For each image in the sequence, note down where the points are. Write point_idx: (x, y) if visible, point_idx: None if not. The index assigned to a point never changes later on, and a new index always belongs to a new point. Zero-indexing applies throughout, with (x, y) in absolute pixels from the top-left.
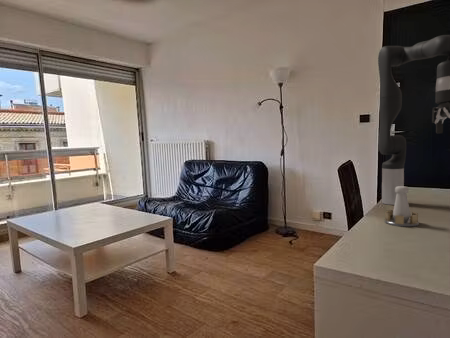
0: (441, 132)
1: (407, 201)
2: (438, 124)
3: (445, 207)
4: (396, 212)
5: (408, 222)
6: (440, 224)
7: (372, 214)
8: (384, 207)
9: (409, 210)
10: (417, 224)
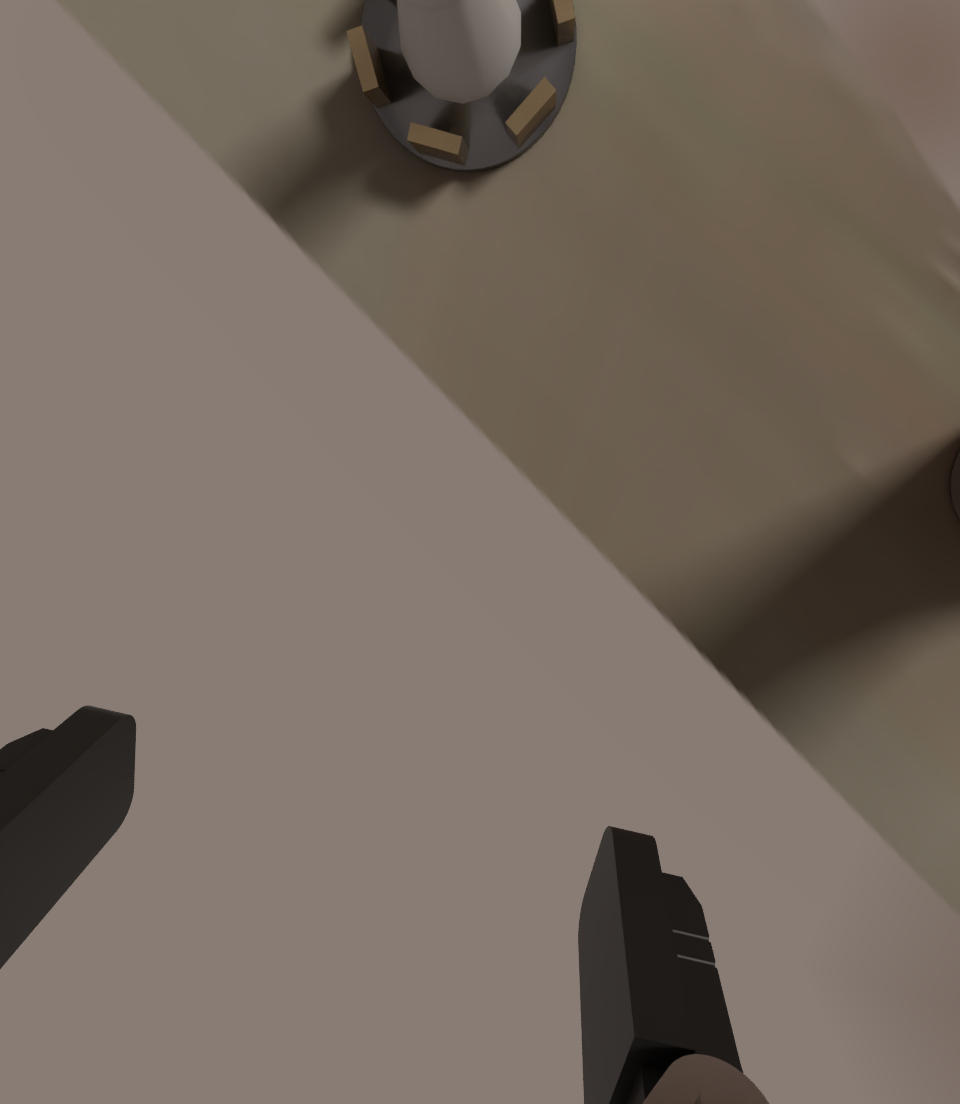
0: (585, 908)
1: (408, 19)
2: (621, 1048)
3: (737, 691)
4: None
5: None
6: (376, 289)
7: (771, 6)
8: (941, 296)
9: (411, 58)
10: (375, 109)
